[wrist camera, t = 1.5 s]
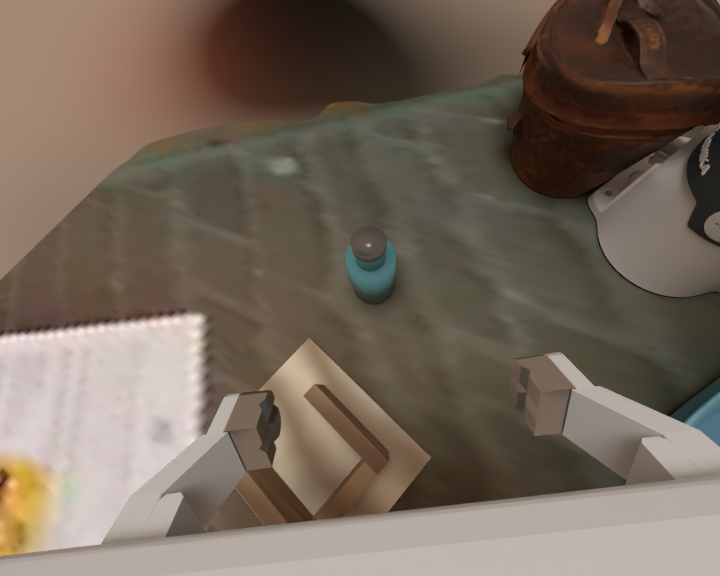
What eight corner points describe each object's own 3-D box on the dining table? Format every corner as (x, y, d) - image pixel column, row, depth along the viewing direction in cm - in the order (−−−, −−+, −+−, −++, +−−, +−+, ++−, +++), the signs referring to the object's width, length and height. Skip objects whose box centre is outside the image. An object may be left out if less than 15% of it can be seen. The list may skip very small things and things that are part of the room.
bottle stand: (311, 339, 38) (297, 329, 32) (430, 455, 33) (438, 469, 27) (208, 446, 35) (174, 456, 29) (321, 590, 30) (306, 637, 24)
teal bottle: (372, 258, 40) (366, 206, 29) (402, 283, 39) (408, 238, 28) (345, 286, 39) (328, 244, 28) (375, 312, 38) (370, 279, 27)
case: (553, 79, 47) (646, -97, 30) (666, 170, 41) (865, 15, 24) (456, 141, 45) (496, -8, 28) (559, 244, 39) (690, 136, 22)
